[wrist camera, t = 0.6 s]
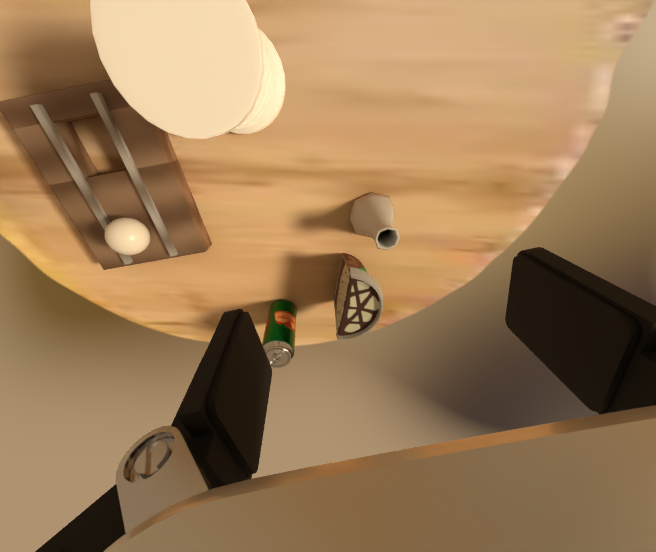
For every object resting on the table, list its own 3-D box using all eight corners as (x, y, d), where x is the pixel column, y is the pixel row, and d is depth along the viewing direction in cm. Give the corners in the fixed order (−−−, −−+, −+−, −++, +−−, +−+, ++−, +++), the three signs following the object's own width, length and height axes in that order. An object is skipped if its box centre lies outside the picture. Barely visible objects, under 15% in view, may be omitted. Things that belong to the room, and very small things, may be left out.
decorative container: (168, 67, 33) (44, 22, 18) (238, -8, 30) (164, -143, 15) (238, 152, 38) (189, 175, 23) (304, 94, 35) (300, 74, 20)
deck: (19, 103, 34) (-12, 102, 31) (144, 78, 34) (127, 74, 30) (115, 261, 45) (100, 272, 42) (211, 243, 45) (203, 253, 41)
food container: (364, 308, 53) (375, 345, 44) (332, 305, 52) (337, 342, 43) (379, 248, 47) (395, 278, 38) (343, 244, 46) (351, 274, 37)
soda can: (302, 307, 52) (300, 354, 41) (286, 324, 54) (281, 374, 43) (279, 293, 50) (271, 339, 40) (264, 312, 52) (253, 360, 41)
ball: (111, 216, 39) (86, 228, 34) (146, 209, 38) (125, 221, 34) (130, 248, 41) (109, 264, 37) (163, 242, 41) (145, 257, 36)
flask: (393, 234, 46) (413, 261, 37) (350, 238, 46) (359, 266, 37) (395, 189, 42) (417, 207, 33) (347, 194, 42) (358, 214, 33)
